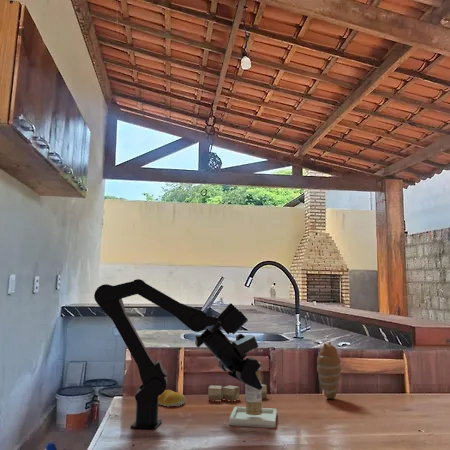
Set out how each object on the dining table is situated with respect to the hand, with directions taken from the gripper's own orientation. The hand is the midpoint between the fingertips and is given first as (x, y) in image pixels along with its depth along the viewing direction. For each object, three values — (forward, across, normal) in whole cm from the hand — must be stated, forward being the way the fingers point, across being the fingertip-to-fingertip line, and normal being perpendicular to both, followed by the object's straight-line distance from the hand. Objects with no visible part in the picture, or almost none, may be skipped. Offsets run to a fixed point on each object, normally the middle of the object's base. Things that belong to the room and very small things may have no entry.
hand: (257, 387), depth 112 cm
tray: (+5, 0, +7) cm, 8 cm away
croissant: (+29, +14, -17) cm, 36 cm away
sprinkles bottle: (+4, -1, +6) cm, 7 cm away
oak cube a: (+3, +24, +9) cm, 26 cm away
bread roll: (-7, +24, +20) cm, 32 cm away
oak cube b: (+6, +22, +6) cm, 24 cm away
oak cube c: (+13, +23, -1) cm, 26 cm away
